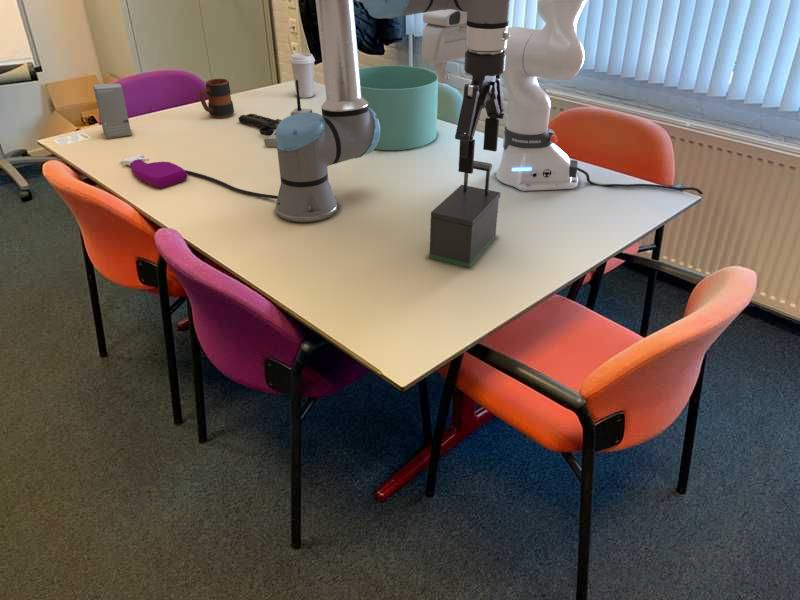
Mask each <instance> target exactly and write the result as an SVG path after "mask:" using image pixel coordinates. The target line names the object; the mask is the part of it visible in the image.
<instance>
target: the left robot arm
mask: <svg viewBox="0 0 800 600" xmlns="http://www.w3.org/2000/svg"><path fill="white" fill-rule="evenodd" d="M356 1H357V2H358V3H362V5H363V7H364V9H365V10H366V11H367V12H368V15H369V16H370V17H372V18H374V19H380V20H381V19H388V20H391V19H397V18H399V17H405V16H411V15H412V16H413V15H417V14H424V13H425V12H431V11H438V10H444V9H453V10H459V11H464V12H467V25H466V40H465V47H466V48H467V49H468V50H467V51H466V52H465V57H464V64H463V65H464V68H463V69H464V72H467V73H468V74H471V75H472V76H471V77H472V78H471V82H470V84H469V83H465V84H464V87H463V98H462V102H461V107H460V111H459V117H458V121H457V126H456V131H455V135H454V139H455V140H458V141H459V151H458V152H459V154H458V155H459V156H458V171H457V172H459V173H468V175H469V174H470V175H471V174H473V173H474V169H473V163H474V161H475V160H474V159H475V148H476V147H475V146H476V140H475V139H474V136H475V133H476V130H477V126H478V124H479V120H480V116H481V114H482V110H483V109H485V112H486V116H487V117H486V118H484V119H485V120H484V121H485V122H484V135H483V147H482V149H483V151H490V152H495V153H496V152H497V151H498V139H499V128H500V120H503V119H504V118H505V113H504V111H505V106H504V94H503V83H502V79H503V78H502V73H503V72H504V71H505V61H506V53H505V51H503V50H504V49H505V48H506V46H507V38H509V37H510V33H508V28H509V22H510V21H509V17H510V8H511V0H356ZM315 8H316V16H317V17H316V18H317V25H318V36H319V43H320V53H321V62H322V69H323V70H322V71H323V80H324V88H325V98H326V99H325V101H324V102H323V103H322V104H321V108H320V109H321V114H320V113H318V112H313V111H312V112H306V113H304V114H303V113H298V114H294V115H291V114H290V115H289V116H287V117H285V118H283V119H281V120H282V121H280V122H279V124H278V126H277V128H276V146H275V147H276V150H277V159H278V167H279V168H278V169H279V176H280V186H279V191H278V194H277V195H274V194H266V193H259V192H253V191H249V190H245V189H241V188H238V187H235V186H232V185H231V184H228V183H227V182H224V181H221V180H219V179H217V178H214V177H211V176H209V175H206V174H202V173H198V172H194V171H191V170H187V169H184V170H185V171H186V172H187V175H192V176H194V177H199V178H201V179H205V180H208V181H211V182H214V183H215V184H218V185H221V186H223V187H225V188H227V189H230V190H232V191H234V192H238V193H241V194H245V195H249V196H254V197H260V198H264V199H265V198H266V199H274V200H276V205H275V208H276V214H277V216H278V217H279V218H281V219H283V220H284V221H287V222H291V223H301V224H303V223H305V224H307V223H308V224H309V223H316V222H320V221H324V220H326V219H328V218H331V217H332V216H333V215H335V214H336V212H337V211H338V201H337V198H336V196H335V194H334V192H333V188H332V186H331V184H330V181H329V175H328V173H329V172H328V167H329V166H333V165H336V164H339V163H342V162H345V161H346V162H347V161H349V160H353V159H358V158H359V159H360V158H361V157H363V156H365V155H368V154H371V153H372V152H373V151H374V150H375V149H374V148H375V147H376V146H377V144H378V141H379V137H380V124H379V120H378V118H376V114H375V112H374V111H373V110H372V109H371V108H369V107H368V102H367V101H366V100H365V99H364V98H363V97H362V96H361V86H360V74H359V69H360V64H359V55H358V54H359V53H358V52H359V51H358V42H357V30H356V19H355V17H356V16H355V6H354V0H315Z"/></svg>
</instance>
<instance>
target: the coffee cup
mask: <svg viewBox="0 0 800 600" xmlns="http://www.w3.org/2000/svg"><path fill="white" fill-rule="evenodd" d="M315 62H316V59H315V56H314V55H313V54H312V53H309V52H297V53H292V54H291V56H290V57H289V63H290V64H291V70H292V75H293V81H294V87H295V93H296V95H297V89H296V80H298V87H299V97H300V99H302V98H303V99H307V98H311V97H314V95H315V92H314V91H315V90H314V86H315V85H314V84H315Z"/></svg>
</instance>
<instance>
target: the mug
mask: <svg viewBox="0 0 800 600" xmlns="http://www.w3.org/2000/svg"><path fill="white" fill-rule="evenodd" d="M205 94H206V95H207V101H208V102H206V99H205ZM231 94H232V91H231V86H230V81H229V80H228V79H226V78H213V79H209V80H207V81H206V83H205V88H203V89H201V90H200V92H199V100H200V103H201V105H202V108H203V110H205V112H206V113H209V115H210V117H212V118H215V119H226V118H229V117H232V116H233V115H234V113H235V108H234V102H233V100H232V96H231Z"/></svg>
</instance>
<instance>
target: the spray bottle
mask: <svg viewBox="0 0 800 600" xmlns="http://www.w3.org/2000/svg"><path fill="white" fill-rule="evenodd" d="M145 161H149V163H147V162H145ZM120 163H121V166H129V167H130V169H131V172H132V173H133V175H134V176H135V177H136V178H137V179H139V180H141V181H142V182H143V183H145V184H148V185H150V186H153V187H156V188H160V189H163V188H166V187H169V186H173V185H176V184H178V183H182V182H184V181H186V180H187V178H188V174H187V172H186V171H185V170H186V169H184V168H183V167H181V166H180V165H177V164H175V163H174V162H170V161H154V162H150V158H146V157H145V154H144V153H142V154H136V155H133V156H129V157H127V158H124V159H121V160H120Z"/></svg>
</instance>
